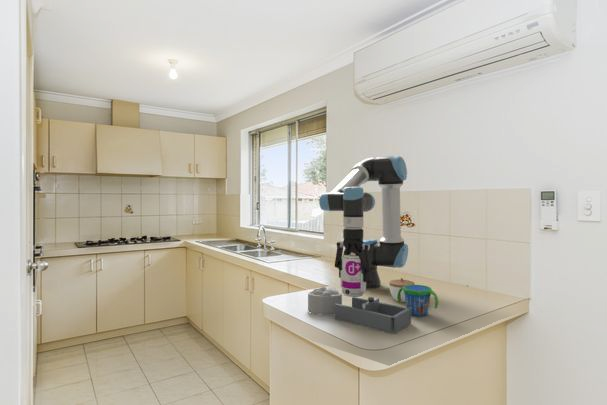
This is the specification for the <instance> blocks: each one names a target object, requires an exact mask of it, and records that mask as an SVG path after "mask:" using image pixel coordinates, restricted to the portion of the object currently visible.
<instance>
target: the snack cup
mask: <svg viewBox="0 0 607 405" xmlns="http://www.w3.org/2000/svg"><path fill="white" fill-rule="evenodd" d="M402 290H403V291H404V293H405V300H406V302H405V305H406V308H410V309H411V316H417V317H424V316H427V315H428V313H429V307H430V299H431V295H432V296H433V297H434V300H435V302H434V309H435V310H436V309H438V307H439V298H438V295H437V293H436V292H435V291H434V290H432V287H430V286H428V285H423V284H415V285H406V286H404V287H403V288H401V289H400V290H399V292H398V297H397V299H398V301H397V302H399V303H400V302H401V295H400V293H401V291H402ZM401 303H402V302H401Z"/></svg>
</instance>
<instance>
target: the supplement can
mask: <svg viewBox="0 0 607 405" xmlns="http://www.w3.org/2000/svg"><path fill="white" fill-rule="evenodd" d="M342 257H343V258H342V287H341V292H342V293H341V294H342V295H344V296H345V297H350V298H352V297H357V298H360V297H362V296H363V295H364V294H365V290H364V291H361V273H362V269H361V260H360V258H359V256H356V255H355V253H351V254H349V255H344V256H343V255H342Z"/></svg>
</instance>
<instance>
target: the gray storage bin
mask: <svg viewBox="0 0 607 405" xmlns="http://www.w3.org/2000/svg"><path fill="white" fill-rule="evenodd" d="M366 302H368V298H367V299H366V298H360V297H351V306H349V305H345V304H342V305H341V304H337V303H336V304H335V314H334V320H337V321H341V322H345V323H349V324H353V325H355V326H357V325H358V326H360V327H364V328H367V327H368V328H369V329H371V328H372V329H371V330H376V331H379V332H383V331H384V333H388V334H390V333H391V334H392V335H395V334H397V333H399V332H400V331H403V330H404V329H405V328H408V327H409V326H410V325H411V324H412V315H411V309H410V308H407V306H406V307H405V306H400V305H396V304H390V303H385V302H380V301H379V313H376V312H372V311H368V310H363V309H362V304H364V303H366Z"/></svg>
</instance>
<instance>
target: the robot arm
mask: <svg viewBox="0 0 607 405" xmlns="http://www.w3.org/2000/svg"><path fill="white" fill-rule="evenodd" d="M407 169H408V168H407V164H406V162H405V159H404V157H402V156H399V155H397V156H396V155H389V156H377V157H376V156H374V157H372V156H371V157H368V158H366V159H364V160H362V161H360V162H358V163H356V164H354V166H353V167H352V168H351V169H350V171H349V174H348V175H347V176H345V178H343V180H341V181H340V183H339V184H338V185H336V187H334V189H333V190H331V191H330V192H322V193H321V194H320V196H319V200H318V202H319V203H318V204H319V207H320V209H321V210H322V211H324V212H325V211H326V212H343V214H342V217H343V219H342V223H343V225H342V226H343V229H342V230H343V231H342V235H343V236H342V237H343V241H337V242H336V254H335V258H334V259H335V260H334V268H337V269H338V277H339V278H340V288H342V258H343V256H344V255H349V254H351V253H355V255H356V256H359V258H360V260H361V269H362V273H361V291H364V292H365V291H367V289H376V288H380V287H381V279H380V278H381V277H380V275H379V272H378V266H379V267H387V268H394V269H395V268H399V269H401V268H403V267H405V265H406V263H407V261H408V255H409V246H408V244H407V243H405V239H404V238H403V237H402V232H401V229H402V228H401V227H402V226H401V225H402V224H401V223H402V222H401V187H402V186H403V184H404V181H405V180H407V178H408V170H407ZM367 182H378V186H379V187H380V188H381V206H382V207H381V209H382V210H381V212H382V213H381V214H382V215H381V218H382V237H381V238H380V239H379V242H378V239H375V238H370V239H364V229H363V228H364V212H366V213H367V212H369V211H371V210H373V209H374V207H375V205H376V200H375V197H374V196H373V195H372V194H371V193H368V192H364V188H363V187H361V186H362V185H364V184H366V183H367Z"/></svg>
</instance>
